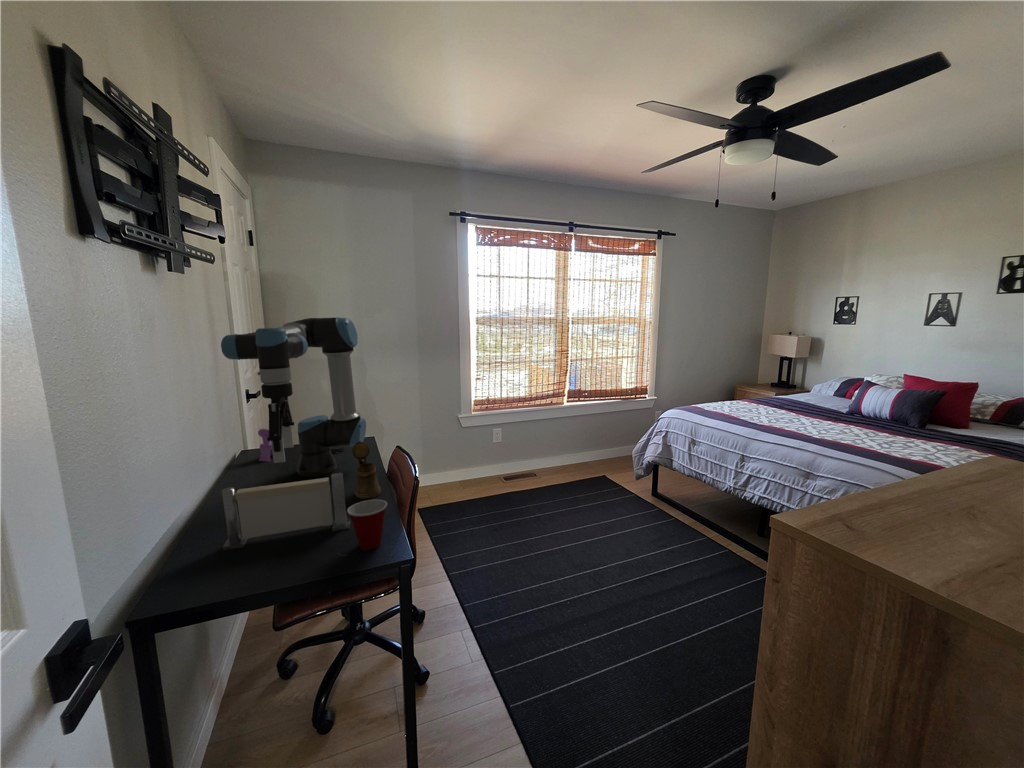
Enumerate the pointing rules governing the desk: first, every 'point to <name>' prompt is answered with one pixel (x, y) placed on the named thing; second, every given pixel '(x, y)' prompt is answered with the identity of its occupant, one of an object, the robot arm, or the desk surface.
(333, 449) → the media streaming box
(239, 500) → the gate
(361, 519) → the plastic cup
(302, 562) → the desk surface
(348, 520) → the gate frame
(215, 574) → the desk surface
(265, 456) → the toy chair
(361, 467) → the brown disc-topped figurine
